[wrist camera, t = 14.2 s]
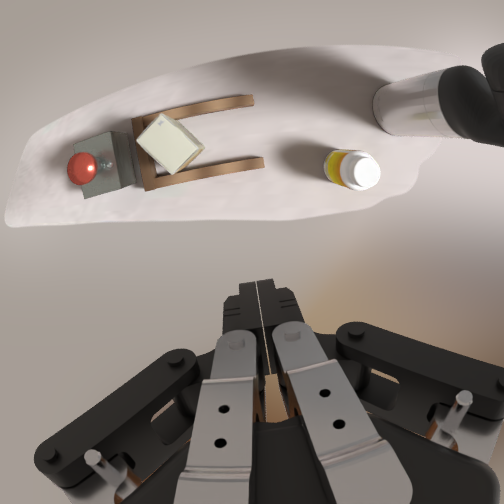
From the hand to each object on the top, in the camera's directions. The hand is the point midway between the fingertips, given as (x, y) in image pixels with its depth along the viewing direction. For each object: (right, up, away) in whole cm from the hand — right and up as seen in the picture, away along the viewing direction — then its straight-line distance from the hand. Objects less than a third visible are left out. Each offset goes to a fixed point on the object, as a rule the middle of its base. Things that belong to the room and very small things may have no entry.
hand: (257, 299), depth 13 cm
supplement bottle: (+13, +16, +31) cm, 37 cm away
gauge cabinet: (-22, +16, +27) cm, 38 cm away
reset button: (-21, +13, +20) cm, 32 cm away
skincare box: (-11, +18, +28) cm, 35 cm away
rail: (-7, +19, +28) cm, 34 cm away
